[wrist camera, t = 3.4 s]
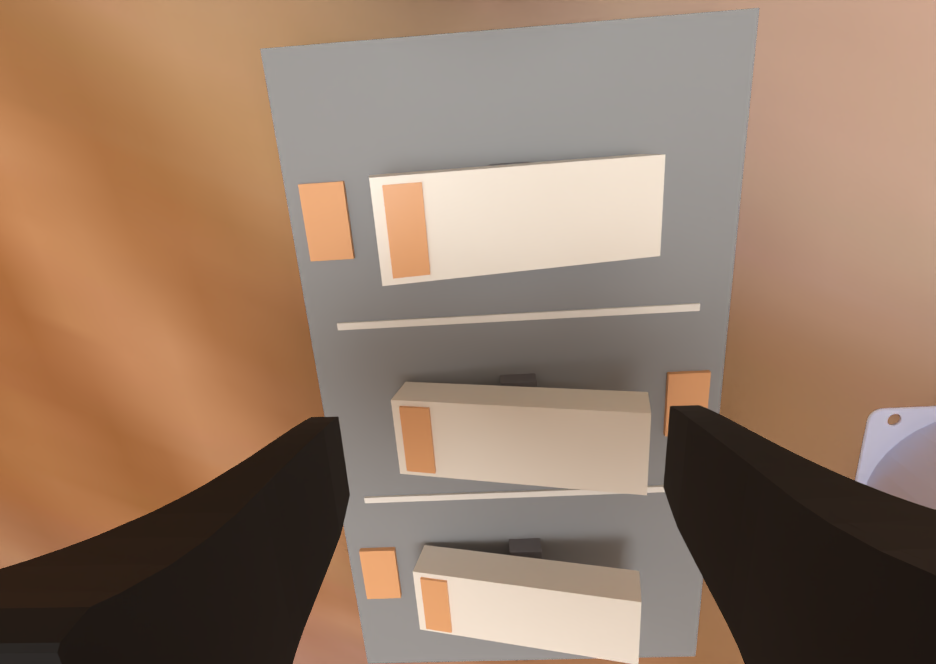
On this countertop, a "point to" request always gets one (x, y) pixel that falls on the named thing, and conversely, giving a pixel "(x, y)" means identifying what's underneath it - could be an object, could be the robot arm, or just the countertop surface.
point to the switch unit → (515, 287)
